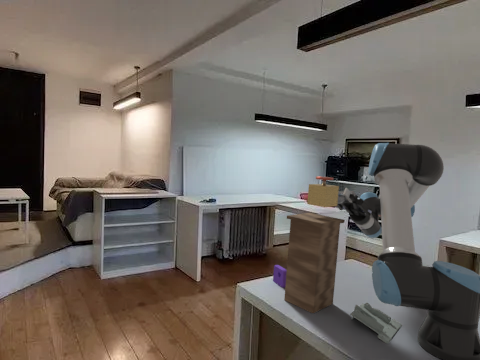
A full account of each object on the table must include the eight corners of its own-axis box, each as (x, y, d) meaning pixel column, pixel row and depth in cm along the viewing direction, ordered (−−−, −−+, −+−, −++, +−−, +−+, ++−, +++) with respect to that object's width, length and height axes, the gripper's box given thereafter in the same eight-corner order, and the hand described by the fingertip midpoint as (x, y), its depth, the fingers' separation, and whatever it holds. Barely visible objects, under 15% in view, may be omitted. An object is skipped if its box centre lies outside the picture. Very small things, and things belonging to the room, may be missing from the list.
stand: (304, 290, 124) (310, 212, 122) (336, 304, 114) (344, 219, 111) (280, 299, 114) (286, 215, 112) (313, 315, 104) (321, 223, 102)
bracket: (282, 288, 125) (283, 271, 125) (272, 281, 131) (274, 265, 131) (307, 284, 130) (308, 268, 130) (297, 278, 137) (298, 262, 136)
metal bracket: (347, 309, 98) (364, 295, 109) (340, 325, 99) (358, 309, 111) (394, 341, 89) (408, 322, 101) (386, 358, 91) (400, 337, 102)
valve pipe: (342, 200, 130) (344, 176, 129) (358, 203, 125) (361, 178, 124) (307, 204, 114) (309, 176, 113) (324, 207, 109) (327, 178, 108)
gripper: (379, 229, 128) (357, 202, 113) (339, 220, 141) (315, 195, 126) (385, 212, 130) (364, 184, 115) (345, 205, 143) (322, 179, 128)
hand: (338, 190), depth 121 cm, fingers closed on valve pipe, 4 cm apart
